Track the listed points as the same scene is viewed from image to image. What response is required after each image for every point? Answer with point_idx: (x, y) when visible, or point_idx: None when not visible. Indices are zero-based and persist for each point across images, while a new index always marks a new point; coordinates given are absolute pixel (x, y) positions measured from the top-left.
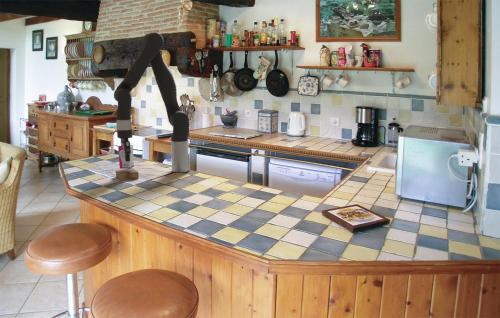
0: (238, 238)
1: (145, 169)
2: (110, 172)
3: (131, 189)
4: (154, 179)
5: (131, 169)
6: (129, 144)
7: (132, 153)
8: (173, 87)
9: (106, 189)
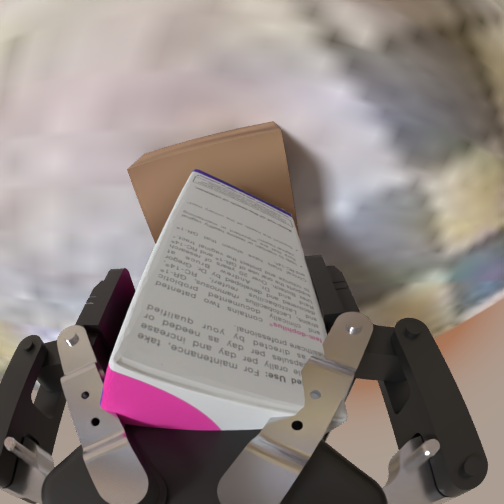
0: None
1: (26, 75)
2: (72, 280)
3: (465, 207)
4: (341, 24)
5: (170, 179)
6: (473, 442)
7: (199, 255)
8: None
9: (403, 303)
